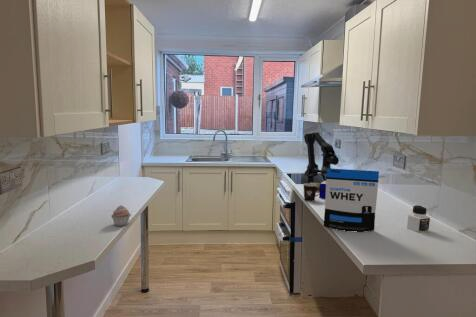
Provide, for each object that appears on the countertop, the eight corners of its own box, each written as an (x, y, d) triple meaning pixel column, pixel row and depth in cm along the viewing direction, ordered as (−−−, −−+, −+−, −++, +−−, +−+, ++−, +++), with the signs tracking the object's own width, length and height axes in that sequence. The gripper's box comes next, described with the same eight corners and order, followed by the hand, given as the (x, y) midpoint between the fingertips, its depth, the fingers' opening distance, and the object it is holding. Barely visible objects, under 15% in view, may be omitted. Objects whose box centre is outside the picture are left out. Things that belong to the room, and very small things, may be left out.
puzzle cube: (319, 198, 230) (319, 183, 229) (322, 194, 239) (323, 180, 237) (334, 200, 226) (335, 185, 224) (337, 196, 234) (338, 182, 233)
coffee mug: (300, 199, 225) (300, 184, 223) (307, 197, 231) (308, 182, 229) (316, 203, 217) (316, 187, 215) (322, 200, 223) (323, 185, 221)
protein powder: (323, 223, 181) (326, 166, 176) (372, 227, 175) (377, 169, 171) (323, 229, 172) (327, 169, 167) (375, 234, 166) (380, 173, 162)
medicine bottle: (418, 232, 170) (421, 209, 168) (406, 227, 176) (408, 205, 174) (428, 230, 172) (431, 207, 171) (416, 226, 179) (418, 203, 177)
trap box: (310, 186, 263) (310, 178, 262) (334, 188, 256) (335, 181, 255) (306, 190, 249) (307, 182, 248) (332, 193, 242) (332, 185, 242)
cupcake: (124, 228, 167) (123, 208, 165) (107, 226, 169) (106, 206, 168) (134, 222, 176) (134, 203, 174) (118, 220, 178) (118, 201, 177)
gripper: (311, 163, 248) (310, 184, 250) (338, 165, 241) (336, 187, 243) (314, 160, 258) (313, 181, 261) (340, 163, 251) (338, 184, 254)
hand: (325, 183), depth 254 cm, fingers closed
